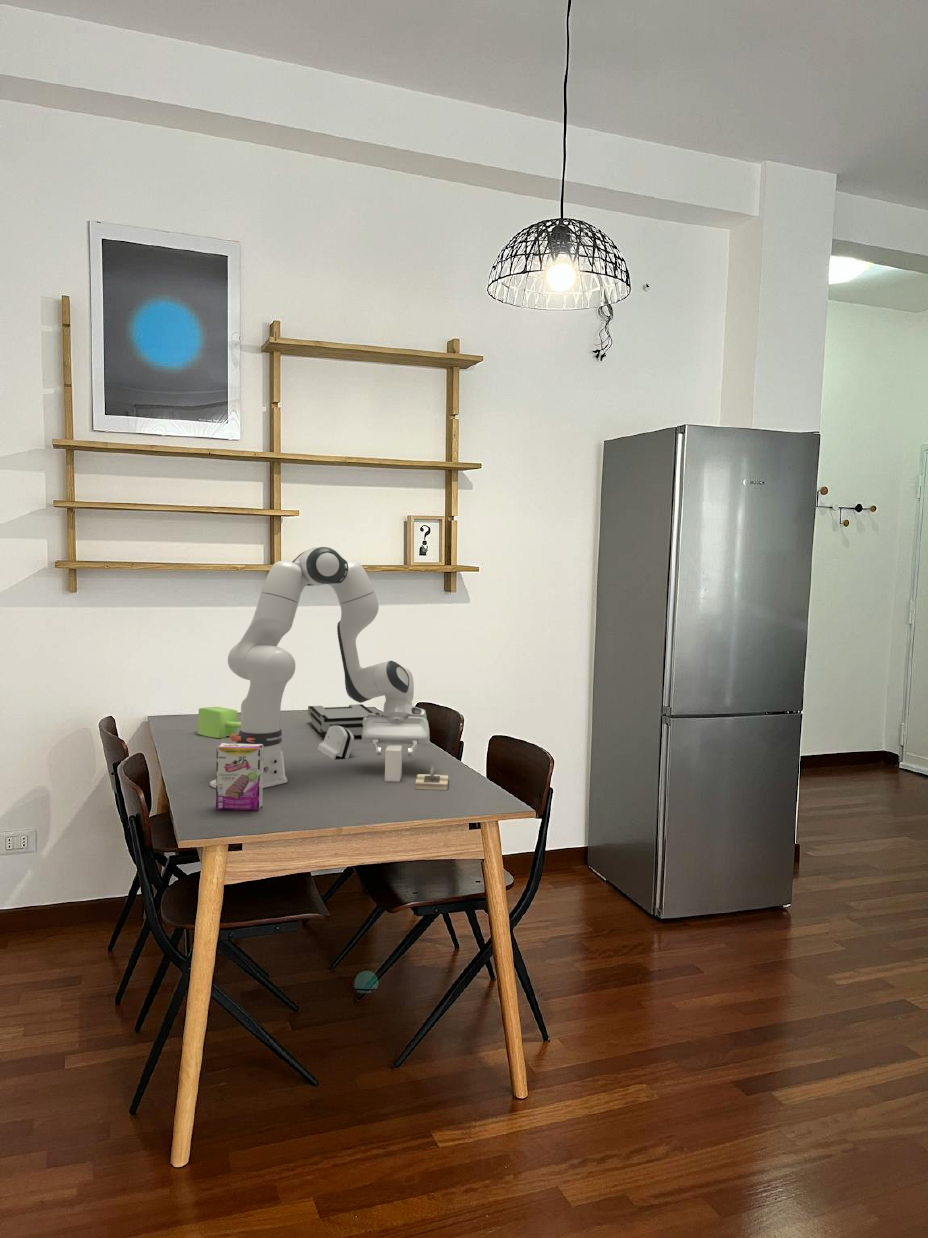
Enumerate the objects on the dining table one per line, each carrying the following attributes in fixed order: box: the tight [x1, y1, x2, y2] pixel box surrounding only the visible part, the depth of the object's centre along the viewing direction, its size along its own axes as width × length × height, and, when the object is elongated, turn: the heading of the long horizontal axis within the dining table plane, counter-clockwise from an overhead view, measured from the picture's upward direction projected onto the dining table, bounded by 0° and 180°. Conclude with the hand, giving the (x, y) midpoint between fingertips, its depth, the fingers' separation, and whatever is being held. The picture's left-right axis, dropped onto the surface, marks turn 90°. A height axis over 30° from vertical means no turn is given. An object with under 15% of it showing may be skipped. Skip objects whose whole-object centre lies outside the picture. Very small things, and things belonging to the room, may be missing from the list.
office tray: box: [307, 703, 381, 740], centre depth 339 cm, size 21×32×8 cm, turn 19°
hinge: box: [317, 726, 355, 760], centre depth 303 cm, size 17×5×10 cm, turn 27°
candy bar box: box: [215, 742, 264, 811], centre depth 238 cm, size 11×5×16 cm, turn 92°
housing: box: [384, 744, 403, 782], centre depth 272 cm, size 7×4×9 cm, turn 179°
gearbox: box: [197, 706, 241, 739], centre depth 327 cm, size 18×10×10 cm, turn 59°
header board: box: [414, 766, 449, 791], centre depth 266 cm, size 11×9×5 cm
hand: (394, 754), depth 273 cm, fingers open, 8 cm apart
